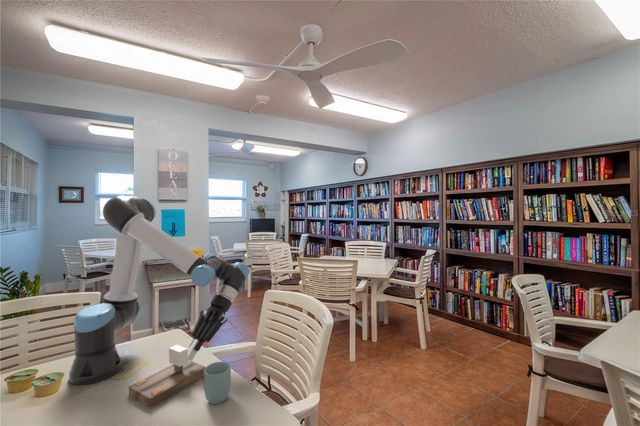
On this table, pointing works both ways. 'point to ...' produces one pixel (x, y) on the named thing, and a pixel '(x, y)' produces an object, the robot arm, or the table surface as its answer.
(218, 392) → the cup
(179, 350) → the fader knob
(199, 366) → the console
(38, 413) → the table surface
